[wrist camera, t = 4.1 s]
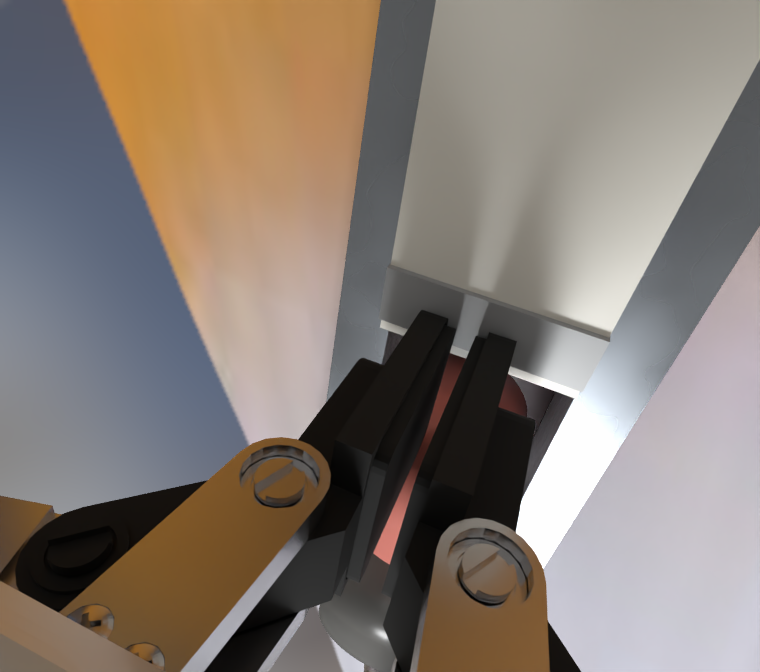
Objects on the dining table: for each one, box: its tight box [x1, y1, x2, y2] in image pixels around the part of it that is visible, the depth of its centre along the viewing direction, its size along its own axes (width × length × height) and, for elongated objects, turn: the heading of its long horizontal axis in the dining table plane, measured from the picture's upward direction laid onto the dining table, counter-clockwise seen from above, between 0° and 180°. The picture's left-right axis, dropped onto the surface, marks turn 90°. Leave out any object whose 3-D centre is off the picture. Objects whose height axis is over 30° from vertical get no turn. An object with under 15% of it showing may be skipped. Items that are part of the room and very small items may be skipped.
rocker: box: [379, 0, 760, 399], centre depth 8 cm, size 7×4×2 cm, turn 171°
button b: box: [319, 554, 396, 672], centre depth 16 cm, size 4×4×4 cm
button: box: [373, 353, 527, 565], centre depth 13 cm, size 4×4×4 cm
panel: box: [326, 0, 760, 568], centre depth 15 cm, size 22×8×4 cm, turn 172°
